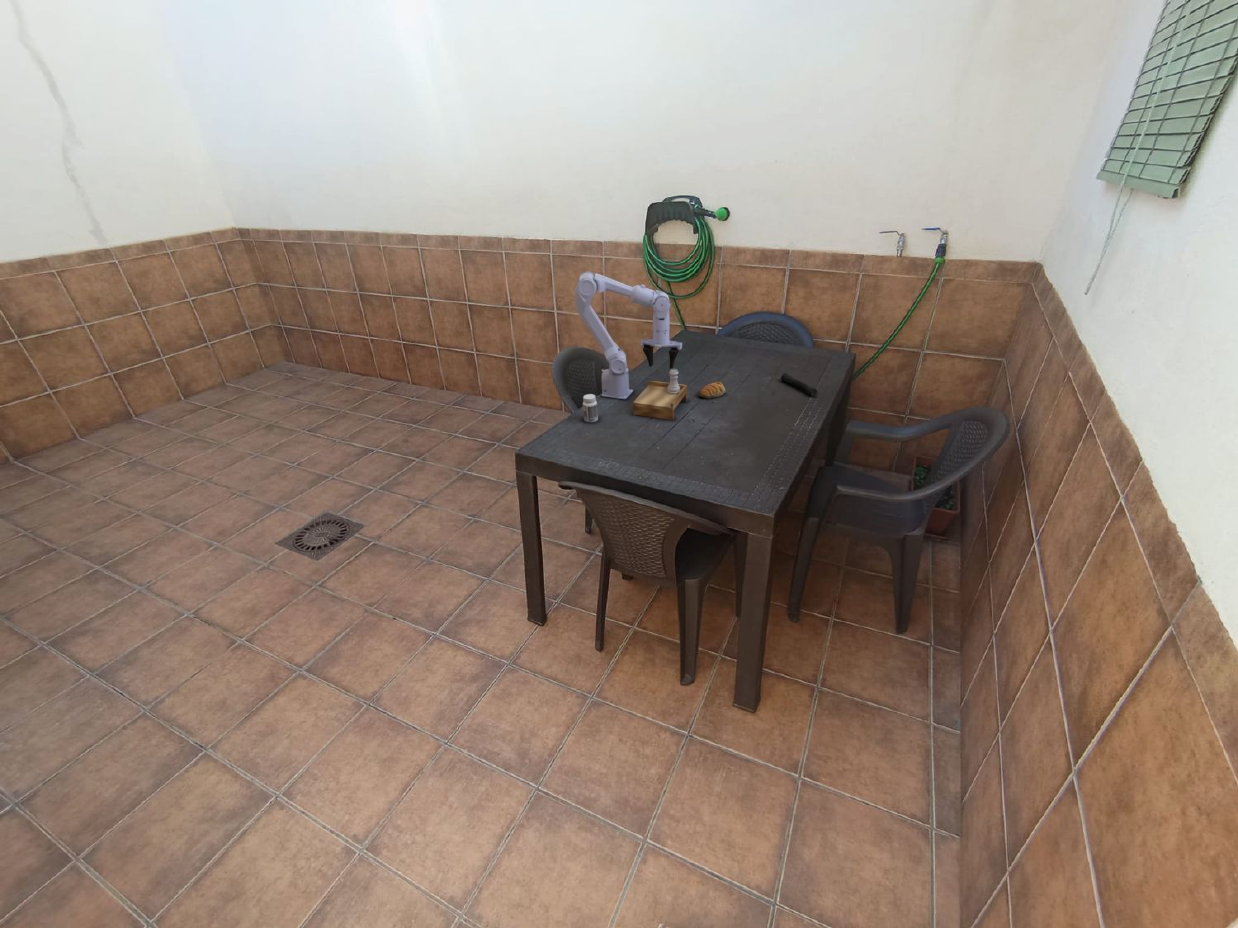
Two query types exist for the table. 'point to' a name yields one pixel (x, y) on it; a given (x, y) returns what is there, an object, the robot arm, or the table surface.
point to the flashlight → (798, 384)
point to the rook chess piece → (673, 382)
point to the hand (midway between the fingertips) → (661, 366)
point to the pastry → (712, 390)
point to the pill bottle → (590, 408)
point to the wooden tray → (659, 401)
